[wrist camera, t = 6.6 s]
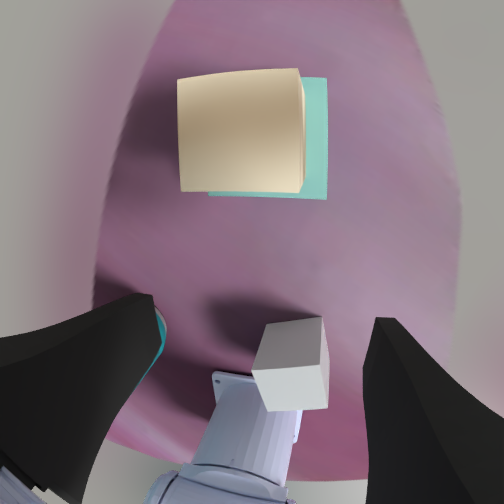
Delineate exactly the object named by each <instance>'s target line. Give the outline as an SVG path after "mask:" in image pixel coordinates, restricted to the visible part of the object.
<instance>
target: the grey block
mask: <svg viewBox="0 0 504 504" xmlns="http://www.w3.org/2000/svg"><path fill="white" fill-rule="evenodd" d="M329 360H330V359H329V353H328V347H327V341H326V336H325V330H324V325H323V319H322V317H315V318H308V319H301V320H294V321H286V322H278V323H270V324H266V328H265V331H264V334H263V337H262V340H261V343H260V346H259V349H258V352H257V355H256V358H255V361H254V364H253V367H252V370H251V371H252V374H253V376H254V379H255V381H256V384H257V386H258V389H259V392H260V394H261V397H262V399H263V402H264V404H265V407H266V409H267V412H271V411H296V410H311V409H323V408H328V393H329Z"/></svg>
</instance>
